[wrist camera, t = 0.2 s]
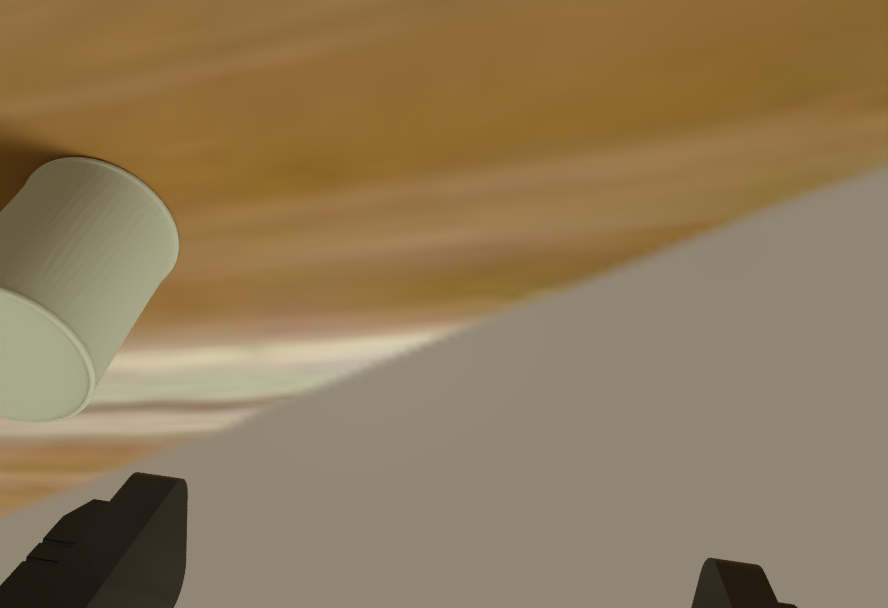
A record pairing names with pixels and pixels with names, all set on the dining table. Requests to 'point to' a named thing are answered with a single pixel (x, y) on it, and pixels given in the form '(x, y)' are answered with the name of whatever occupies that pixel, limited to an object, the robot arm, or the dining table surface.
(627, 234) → the dining table surface
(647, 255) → the dining table surface
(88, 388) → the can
